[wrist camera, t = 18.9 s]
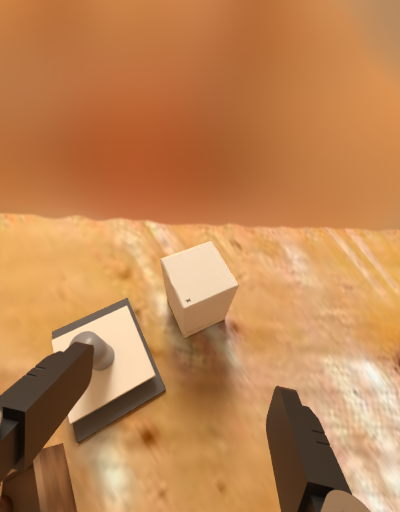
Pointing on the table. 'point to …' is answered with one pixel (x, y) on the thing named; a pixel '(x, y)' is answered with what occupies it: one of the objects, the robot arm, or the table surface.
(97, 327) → the lid
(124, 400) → the rubber mat
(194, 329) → the supplement box
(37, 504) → the walnut box
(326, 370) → the table surface
